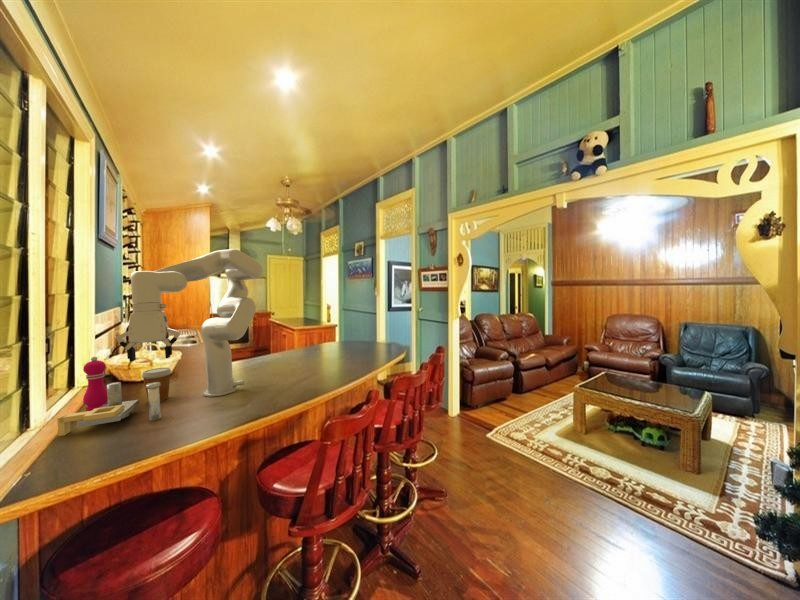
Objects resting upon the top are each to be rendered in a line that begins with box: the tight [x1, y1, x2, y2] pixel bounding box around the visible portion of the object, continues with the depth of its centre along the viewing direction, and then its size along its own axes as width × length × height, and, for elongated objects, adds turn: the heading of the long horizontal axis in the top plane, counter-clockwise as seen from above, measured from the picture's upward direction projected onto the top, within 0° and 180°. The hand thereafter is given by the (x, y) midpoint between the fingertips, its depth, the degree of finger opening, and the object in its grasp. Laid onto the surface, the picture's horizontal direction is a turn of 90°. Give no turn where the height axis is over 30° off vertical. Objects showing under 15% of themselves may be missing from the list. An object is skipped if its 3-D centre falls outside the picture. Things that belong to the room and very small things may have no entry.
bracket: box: [56, 404, 124, 437], centre depth 99 cm, size 14×7×6 cm, turn 114°
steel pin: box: [145, 382, 162, 422], centre depth 106 cm, size 4×4×12 cm
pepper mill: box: [82, 356, 108, 412], centre depth 116 cm, size 7×7×20 cm
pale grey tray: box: [76, 381, 140, 428], centre depth 104 cm, size 10×17×12 cm, turn 24°
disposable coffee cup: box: [141, 367, 173, 402], centre depth 125 cm, size 10×10×12 cm
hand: (150, 359), depth 105 cm, fingers open, 9 cm apart
